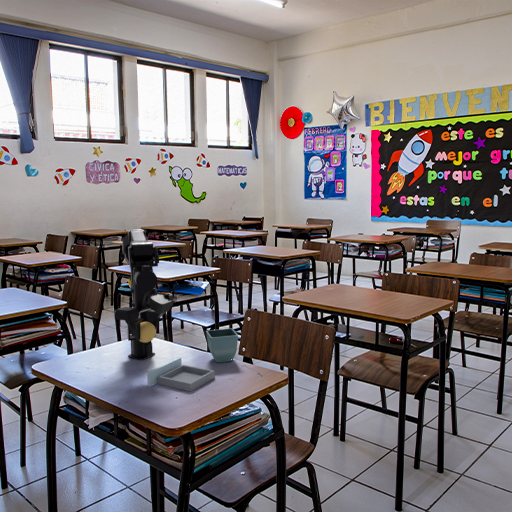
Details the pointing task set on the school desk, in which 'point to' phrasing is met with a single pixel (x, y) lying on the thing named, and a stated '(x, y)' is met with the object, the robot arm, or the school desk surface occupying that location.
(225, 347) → the flower pot
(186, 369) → the dish
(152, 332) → the ball
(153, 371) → the wall
